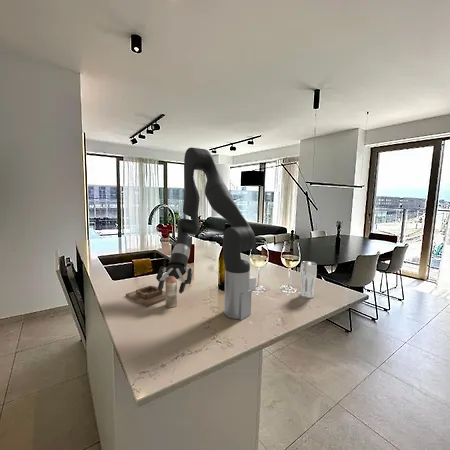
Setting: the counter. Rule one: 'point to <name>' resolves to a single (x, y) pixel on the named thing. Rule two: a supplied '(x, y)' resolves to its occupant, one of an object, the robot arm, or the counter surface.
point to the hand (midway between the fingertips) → (170, 291)
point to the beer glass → (308, 278)
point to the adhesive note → (252, 283)
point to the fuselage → (171, 291)
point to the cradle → (147, 295)
